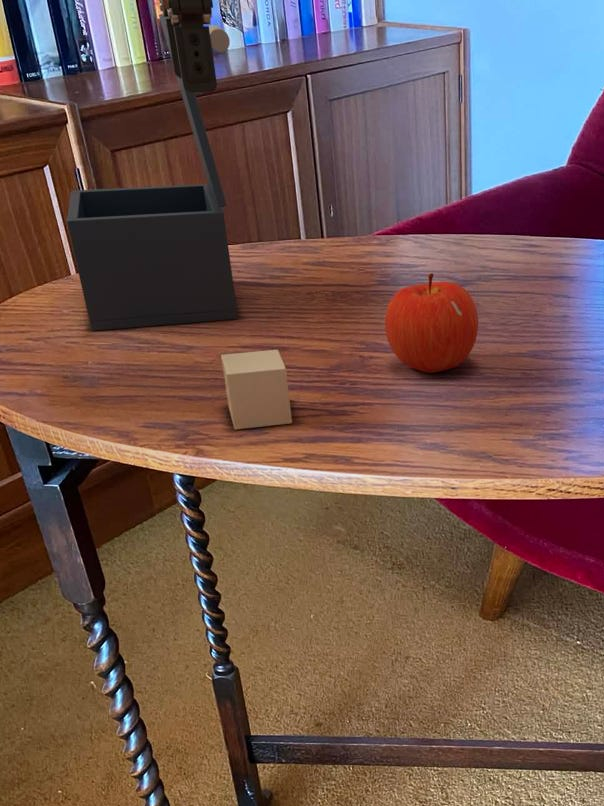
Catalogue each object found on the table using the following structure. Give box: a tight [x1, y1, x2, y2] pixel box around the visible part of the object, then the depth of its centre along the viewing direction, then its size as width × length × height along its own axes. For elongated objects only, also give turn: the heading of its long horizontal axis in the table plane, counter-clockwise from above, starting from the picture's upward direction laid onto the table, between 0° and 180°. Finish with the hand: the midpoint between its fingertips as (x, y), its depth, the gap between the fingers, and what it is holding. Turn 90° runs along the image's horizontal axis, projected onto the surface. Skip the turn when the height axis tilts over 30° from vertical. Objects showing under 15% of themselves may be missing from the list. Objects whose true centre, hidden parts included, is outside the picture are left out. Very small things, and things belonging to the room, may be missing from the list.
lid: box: [158, 13, 231, 208], centre depth 90 cm, size 15×14×5 cm
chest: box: [66, 183, 239, 332], centre depth 96 cm, size 14×14×10 cm
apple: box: [384, 272, 479, 374], centre depth 83 cm, size 8×8×8 cm
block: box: [220, 349, 293, 430], centre depth 74 cm, size 4×4×4 cm
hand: (195, 84), depth 68 cm, fingers open, 8 cm apart
